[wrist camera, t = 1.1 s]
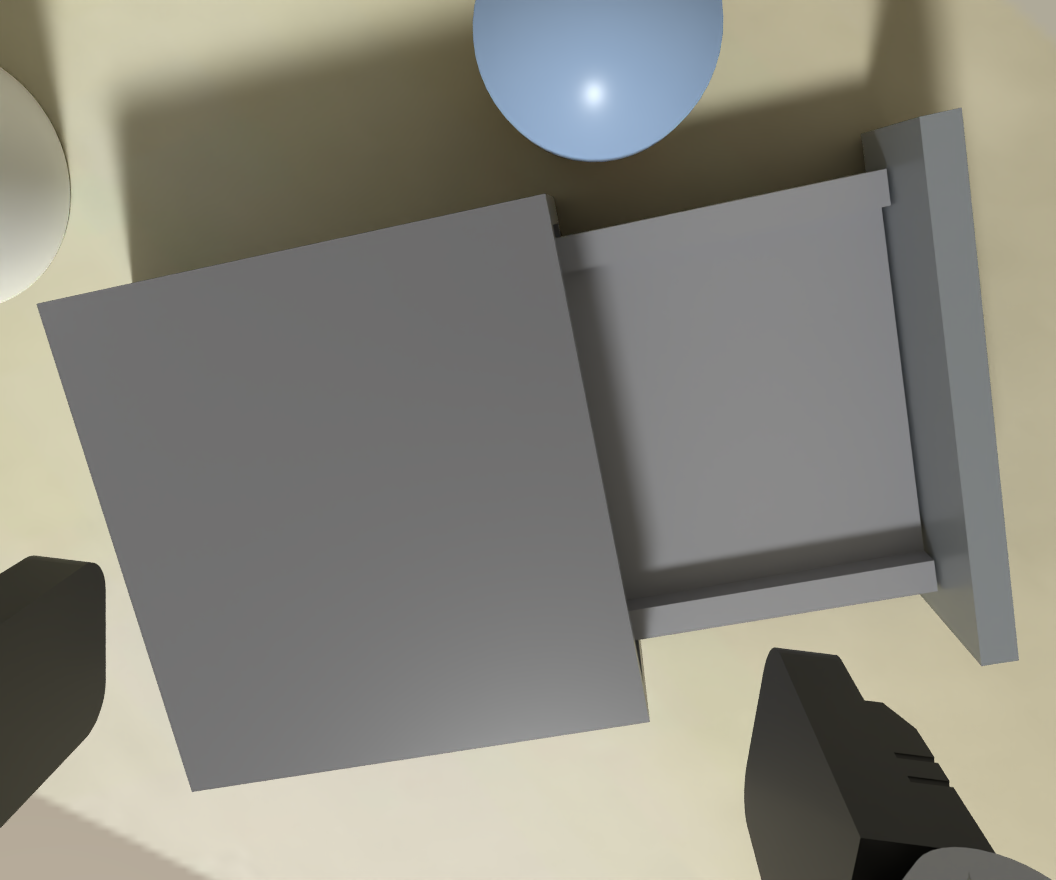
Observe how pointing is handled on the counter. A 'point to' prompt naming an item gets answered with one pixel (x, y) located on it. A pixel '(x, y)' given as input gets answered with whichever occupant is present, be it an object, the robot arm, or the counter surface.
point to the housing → (357, 496)
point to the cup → (28, 189)
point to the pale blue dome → (596, 69)
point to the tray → (801, 398)
